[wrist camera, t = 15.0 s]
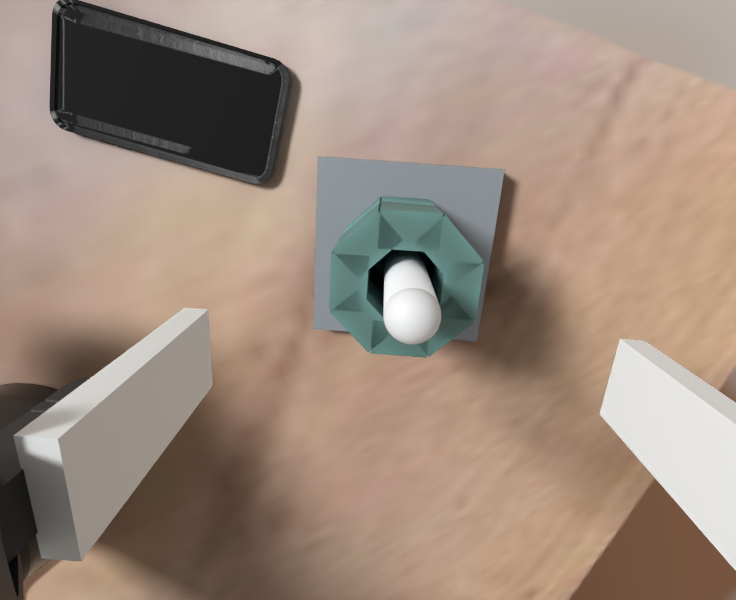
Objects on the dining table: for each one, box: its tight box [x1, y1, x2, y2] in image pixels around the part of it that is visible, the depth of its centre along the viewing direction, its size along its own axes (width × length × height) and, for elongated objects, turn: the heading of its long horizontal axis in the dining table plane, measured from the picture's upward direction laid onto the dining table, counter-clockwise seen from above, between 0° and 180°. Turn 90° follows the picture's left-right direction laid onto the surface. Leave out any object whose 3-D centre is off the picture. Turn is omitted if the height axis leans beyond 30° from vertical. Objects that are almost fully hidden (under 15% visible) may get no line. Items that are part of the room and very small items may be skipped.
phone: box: [50, 0, 292, 184], centre depth 28 cm, size 8×1×15 cm
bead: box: [329, 196, 484, 357], centre depth 25 cm, size 8×8×8 cm
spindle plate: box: [313, 157, 505, 344], centre depth 23 cm, size 12×12×15 cm
